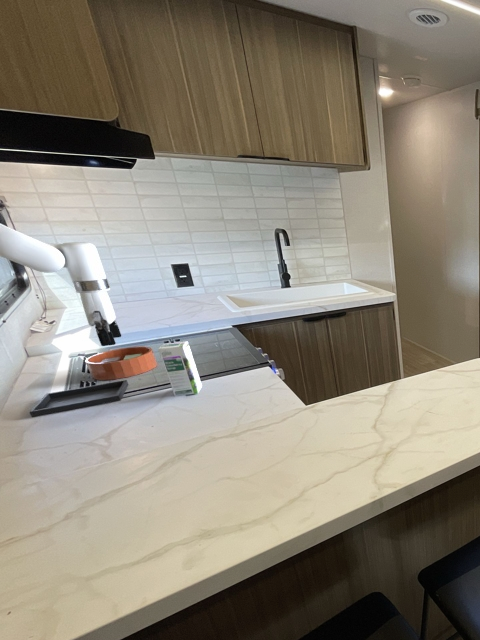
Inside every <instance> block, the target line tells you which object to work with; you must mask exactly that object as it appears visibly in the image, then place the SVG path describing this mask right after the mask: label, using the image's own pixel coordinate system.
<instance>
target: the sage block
mask: <svg viewBox="0 0 480 640" xmlns="http://www.w3.org/2000/svg"><path fill="white" fill-rule="evenodd" d="M141 355H142V354H135V355H128V356H125V358H124V359H123V360H126V359H130V358H134V357H138V356H141Z"/></svg>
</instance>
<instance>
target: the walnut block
mask: <svg viewBox="0 0 480 640" xmlns="http://www.w3.org/2000/svg"><path fill="white" fill-rule="evenodd" d="M115 361H121V358H120V357H115V358H108V359H103V360H102V361H101V363H107V362H115Z"/></svg>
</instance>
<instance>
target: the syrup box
mask: <svg viewBox="0 0 480 640" xmlns="http://www.w3.org/2000/svg"><path fill="white" fill-rule="evenodd" d="M158 353H159V356H160V358H161V361H162V364H163V366H164V369H165V372H166V376H167V378H168V380H169V383H170V387H171V389H172V393H173V396H174V397H177V396H184V395H186V396H190V395H198V394H199V393H200V391H201V389H202V387H203V383H202V381H201V378H200V375H199V372H198V369H197V365H196V363H195V360H194V357H193V353H192V350H191V347H190V344H189V341H188V340H186V341H178V342H169V343H168V342H167V343H163V344H161V345H160V346H159V347H158Z"/></svg>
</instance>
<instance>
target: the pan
mask: <svg viewBox="0 0 480 640" xmlns="http://www.w3.org/2000/svg"><path fill="white" fill-rule="evenodd" d="M128 387H129V382H128V380H127V379H124V380H118V381H113V382H105V383H99V384H94V385H88V386H83V387H77V388H71V389H66V390H65V389H64V390H61V391H54V392H47V393H45V394H44V396H42V397H41V398H40V399H39V401H38V402H37V403H36V404H35V406H33V407H32V409H30V410H29V414H30V416H31V418H36V417H42V416H47V415H52V414H53V415H54V414H58V413H63V412H67V411H73V410H79V409H84V408H88V407H94V406H100V405H105V404H110V403H114V402H120V401H122V399H123V397H124V395H125V393H126V391H127V390H128V389H127V388H128Z"/></svg>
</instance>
